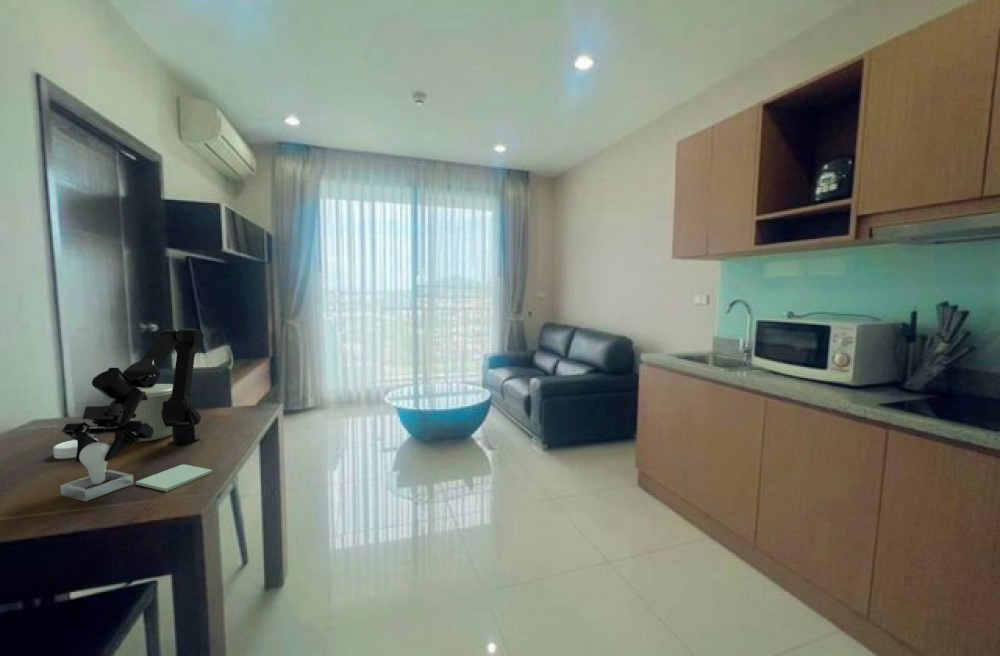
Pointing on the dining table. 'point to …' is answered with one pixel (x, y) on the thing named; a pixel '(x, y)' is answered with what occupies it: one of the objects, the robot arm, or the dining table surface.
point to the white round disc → (66, 449)
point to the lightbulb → (95, 460)
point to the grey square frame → (78, 486)
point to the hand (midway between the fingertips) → (92, 461)
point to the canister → (154, 410)
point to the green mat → (174, 477)
